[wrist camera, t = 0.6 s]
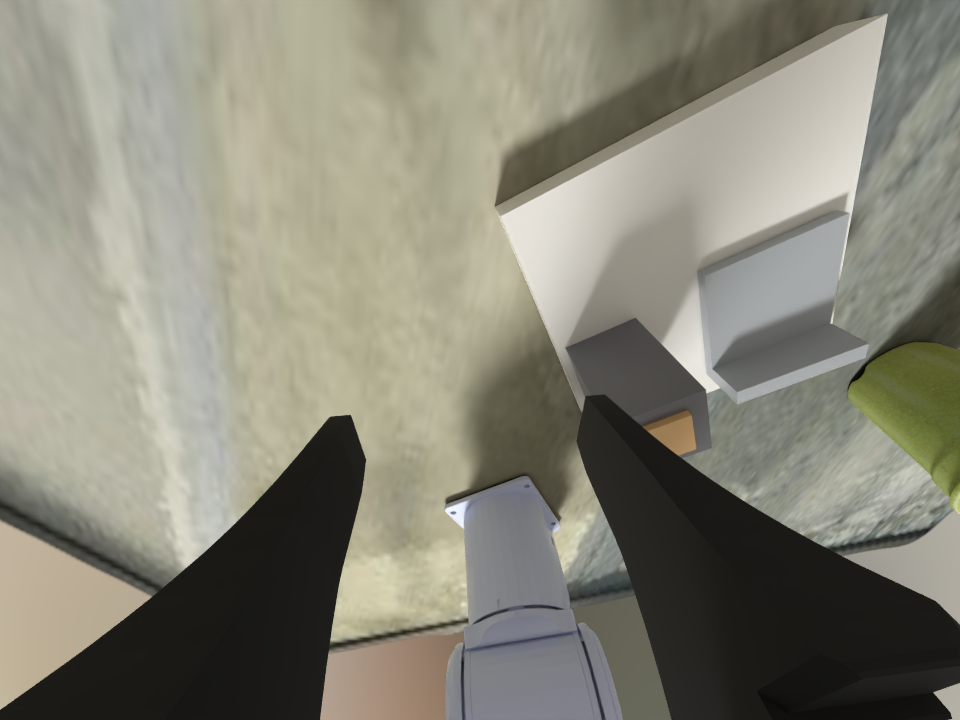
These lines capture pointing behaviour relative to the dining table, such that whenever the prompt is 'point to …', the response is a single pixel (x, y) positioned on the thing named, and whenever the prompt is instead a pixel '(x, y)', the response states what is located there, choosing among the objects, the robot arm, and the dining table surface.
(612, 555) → the dining table surface
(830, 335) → the shutter
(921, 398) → the plant pot
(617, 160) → the socket board
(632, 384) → the grey rectangular block
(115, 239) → the dining table surface
